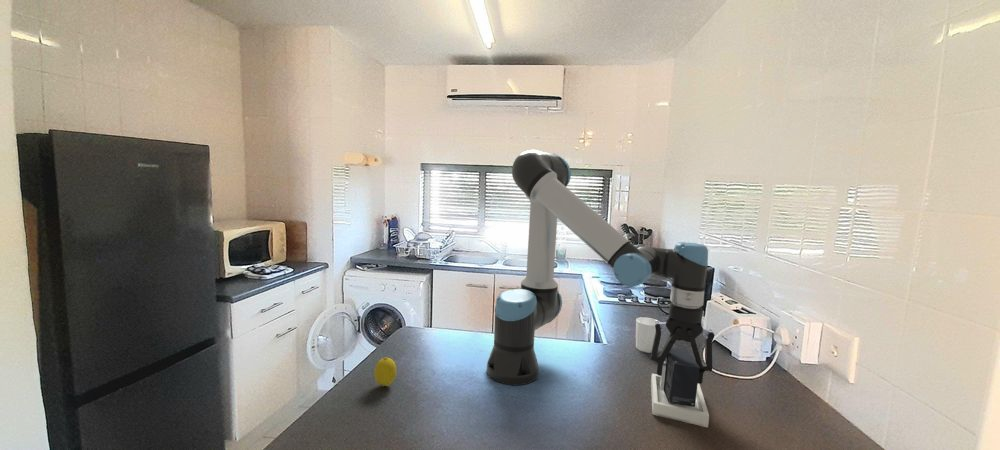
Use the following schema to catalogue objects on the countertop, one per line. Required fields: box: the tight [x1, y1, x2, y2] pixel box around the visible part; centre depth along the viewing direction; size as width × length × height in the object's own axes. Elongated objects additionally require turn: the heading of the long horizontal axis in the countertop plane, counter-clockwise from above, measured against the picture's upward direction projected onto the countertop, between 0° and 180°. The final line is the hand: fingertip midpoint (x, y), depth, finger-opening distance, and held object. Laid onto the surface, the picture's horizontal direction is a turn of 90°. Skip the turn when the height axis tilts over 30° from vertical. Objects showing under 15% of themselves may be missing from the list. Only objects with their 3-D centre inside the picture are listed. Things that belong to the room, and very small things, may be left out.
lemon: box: [374, 356, 397, 387], centre depth 97 cm, size 6×6×8 cm
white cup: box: [635, 316, 661, 354], centre depth 129 cm, size 8×8×10 cm
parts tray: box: [650, 373, 710, 428], centre depth 96 cm, size 12×16×3 cm
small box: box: [664, 347, 700, 407], centre depth 95 cm, size 11×6×10 cm, turn 168°
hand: (677, 390), depth 96 cm, fingers closed on small box, 7 cm apart
